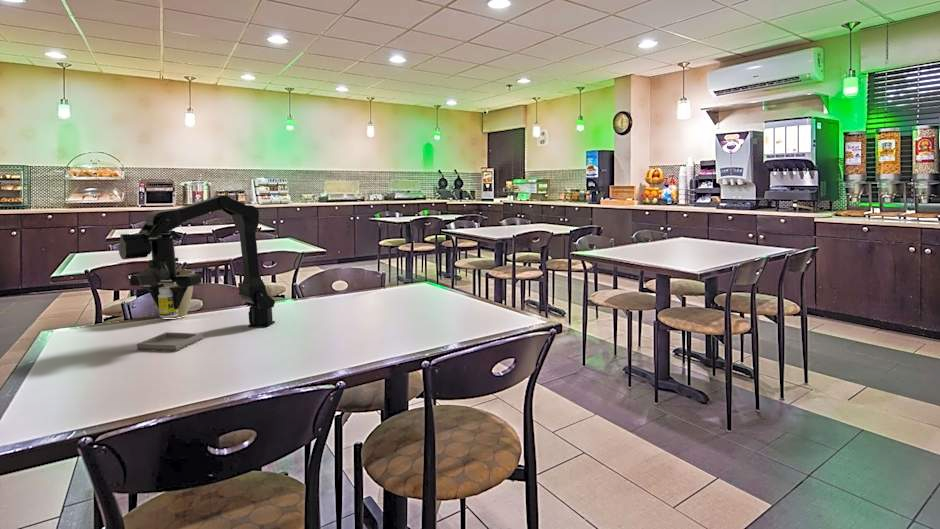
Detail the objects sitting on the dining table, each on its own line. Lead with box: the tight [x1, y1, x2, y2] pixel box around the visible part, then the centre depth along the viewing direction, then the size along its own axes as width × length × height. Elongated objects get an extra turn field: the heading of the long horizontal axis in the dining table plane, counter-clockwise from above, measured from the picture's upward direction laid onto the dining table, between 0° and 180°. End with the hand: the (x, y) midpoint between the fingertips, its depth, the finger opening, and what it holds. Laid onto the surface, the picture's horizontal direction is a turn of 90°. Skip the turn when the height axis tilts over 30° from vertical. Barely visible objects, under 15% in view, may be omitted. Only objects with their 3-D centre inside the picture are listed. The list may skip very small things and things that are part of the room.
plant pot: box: [151, 269, 195, 318], centre depth 187 cm, size 15×15×16 cm
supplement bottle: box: [158, 286, 178, 319], centre depth 154 cm, size 5×5×8 cm
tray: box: [136, 331, 204, 352], centre depth 156 cm, size 12×12×2 cm
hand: (168, 308), depth 154 cm, fingers closed on supplement bottle, 5 cm apart
